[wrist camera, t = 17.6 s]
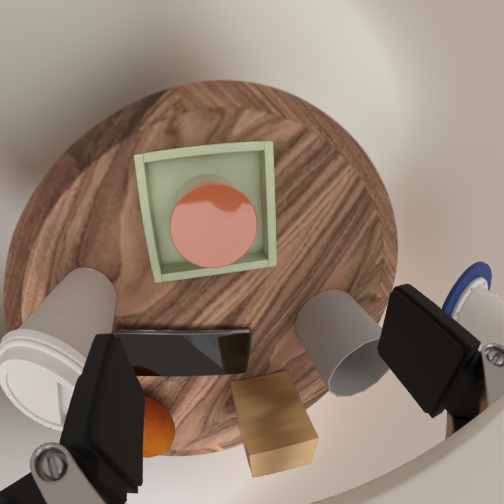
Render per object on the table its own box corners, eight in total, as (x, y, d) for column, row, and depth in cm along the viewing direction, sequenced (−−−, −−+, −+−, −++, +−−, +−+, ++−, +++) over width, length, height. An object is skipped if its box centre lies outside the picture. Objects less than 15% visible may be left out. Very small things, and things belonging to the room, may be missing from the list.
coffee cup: (103, 343, 29) (79, 449, 15) (40, 295, 25) (-17, 388, 11) (147, 292, 28) (131, 409, 14) (77, 234, 24) (2, 321, 10)
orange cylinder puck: (240, 170, 25) (255, 179, 20) (244, 236, 27) (259, 261, 22) (169, 178, 24) (163, 189, 18) (177, 245, 26) (176, 273, 21)
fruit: (170, 383, 33) (172, 432, 26) (176, 424, 37) (179, 466, 30) (95, 379, 31) (85, 425, 24) (111, 420, 34) (107, 461, 27)
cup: (283, 338, 34) (313, 396, 25) (313, 282, 32) (357, 333, 23) (334, 346, 37) (368, 395, 28) (364, 296, 35) (409, 341, 26)
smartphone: (247, 373, 34) (121, 376, 30) (245, 368, 35) (122, 370, 31) (254, 329, 31) (111, 330, 27) (251, 324, 32) (113, 324, 28)
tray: (264, 140, 25) (273, 140, 23) (269, 255, 29) (276, 265, 27) (138, 153, 23) (133, 155, 20) (156, 271, 27) (154, 283, 25)
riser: (286, 369, 37) (318, 437, 26) (285, 402, 40) (311, 463, 29) (230, 381, 35) (249, 455, 24) (235, 412, 38) (252, 478, 28)
